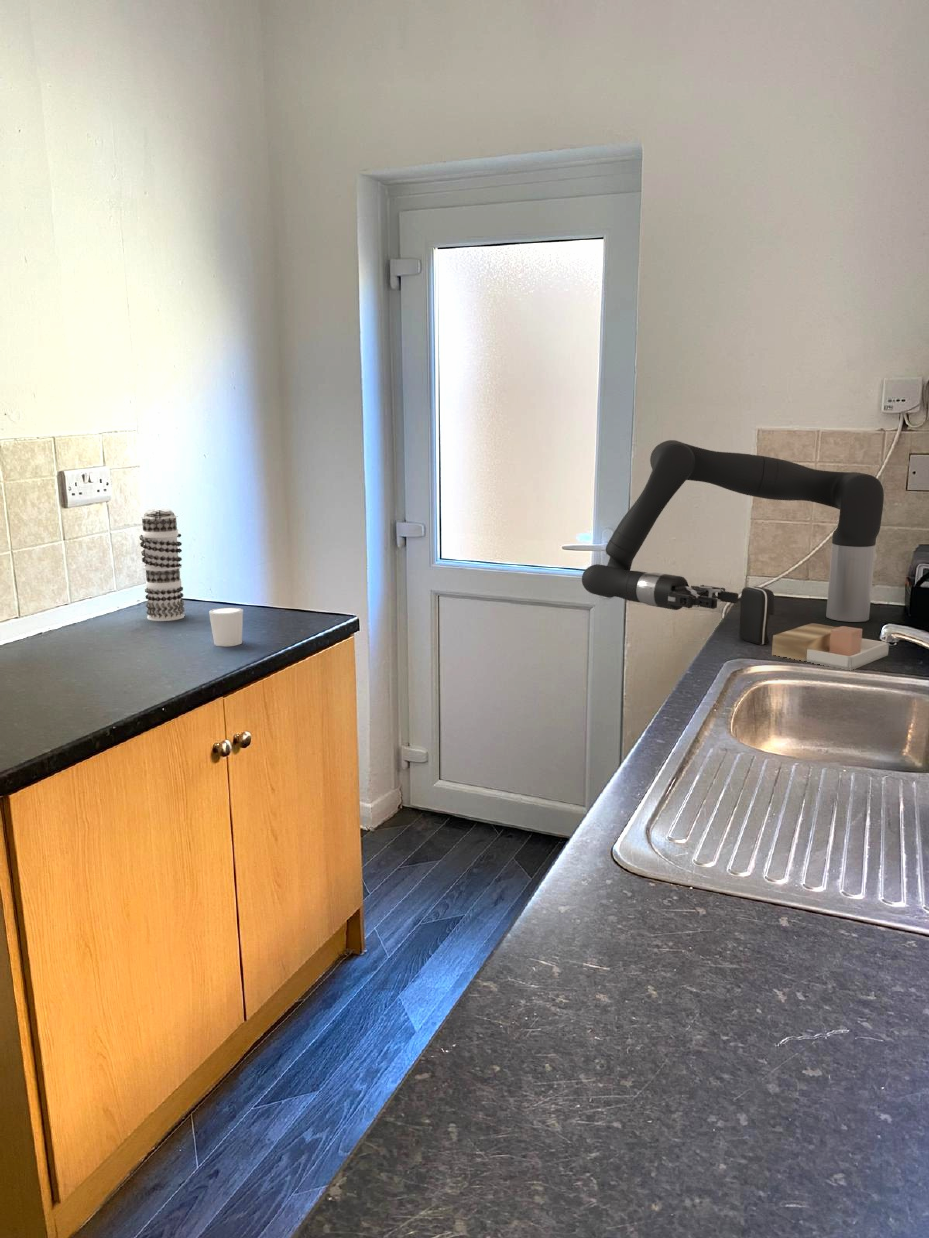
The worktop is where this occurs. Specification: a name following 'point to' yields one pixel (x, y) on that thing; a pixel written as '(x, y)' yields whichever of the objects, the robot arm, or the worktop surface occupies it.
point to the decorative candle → (162, 565)
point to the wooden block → (802, 641)
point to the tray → (868, 654)
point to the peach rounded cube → (845, 641)
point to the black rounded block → (755, 614)
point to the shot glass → (226, 626)
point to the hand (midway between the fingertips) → (727, 601)
